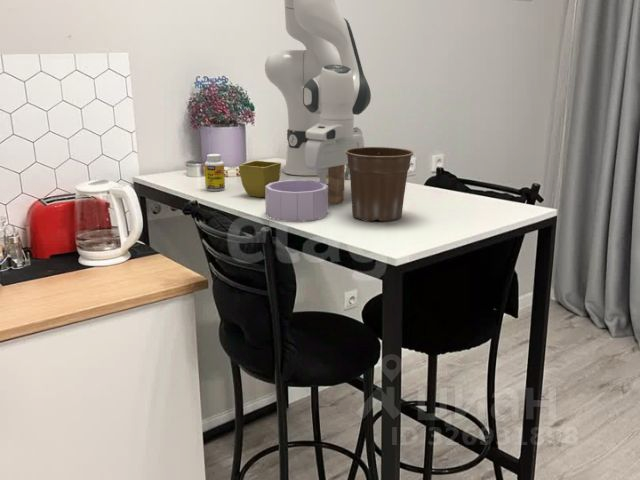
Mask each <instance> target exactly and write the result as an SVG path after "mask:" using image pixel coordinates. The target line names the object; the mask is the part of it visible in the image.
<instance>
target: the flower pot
mask: <svg viewBox="0 0 640 480" xmlns="http://www.w3.org/2000/svg"><path fill="white" fill-rule="evenodd" d="M281 165H282V163H281V162H278V161H277V162H275V161H264V160H253V161H249V162H245V163H241V164H238V170H239V176H240V180H241V185H242V187H243V189H244V190H245V192H246V194H247V195H248V196H249V197H258V198H265V186H266V185H268V184H269V183H273V182H278V181H280V176H281Z"/></svg>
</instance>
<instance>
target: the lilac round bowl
mask: <svg viewBox="0 0 640 480" xmlns="http://www.w3.org/2000/svg"><path fill="white" fill-rule="evenodd" d="M264 198H265V200H264V201H265V215H266V214H267V215H268V216H269V217H271V218H270V219H272V218H275V219H274V220H276V219H279V220H278V221H280V220H286V221H285V222H294V221H300V222H304V221H303V220H313V221H315V219H317V220H319V218H320V219H323V218H324V219H325V217H326V216H327V215H329V203H328V186H327V185H326V184H324V183H321V182H320V181H316V180H315V181H314V180H305V179H304V180H300V179H290V180H287V179H286V180H279V181H278V182H273V183H269V184H268V185H266V186H265V197H264ZM267 215H266V216H267ZM268 216H267V217H268ZM269 217H268V218H269Z"/></svg>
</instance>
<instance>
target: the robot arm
mask: <svg viewBox="0 0 640 480" xmlns="http://www.w3.org/2000/svg"><path fill="white" fill-rule="evenodd" d="M284 15H285V16H284V17H285V18H284V21H285V30H286V32H287V34H288V35H289V36H290V37H291V38H292V39H294V40H296V41H298V42H299V43H301V44H303V46H304V47H305V50H304V49H299V50H298V49H283V50H278V51H274V52H271V53H270V54H269V55H268V56H267V58H266V60H265V63H264V73H265V76H266V78H267V79H268V81H269V82H270V83H271V84H272V85H274V86H275V87H276V88H277V89H278V90H279V92H281V94H282V96H283V98H284V100H285V103H286V108H287V119H288V129H287V130H286V131H287V132H286V139H287V143H288V144H287V147H286V148H287V149H286V157H285V158H286V159H285V165H284V167H283V168H284V170H283V173H284V174H287V175H293V176H318V178H319V182H321V183H324V184H326V185H328V178H326V176H325V173H324V172H326V168H330V167H335V166H340V165H345V173H344V180H345V181H350V169H349V168H348V158H347V154H346V152H345V151H346V150H347V149H351V148H360V147H365V142H364V141H365V140H364V137H363V131H362V130H361V128H359V126H355V125H354V124H355V121H354V120H355V119H354V115H357V116H358V115H360V114H362V113H363V112H365V111H366V109H367V108H368V106H369V105H370V103H371V100H372V99H371V98H372V95H371V88H370V86H369V82H368V81H367V80H368V79H366V76H365V74H364V71H363V66H362V63H361V59H360V56H359V55H360V54H359V52H358V48H357V44H356V40H355V38H354V34H353V31H352V28H351V26H350V22H349V21H348V19H346V18H345V17H343V15H342V14H341V13H340V10H339V9H338V7H337V4H336V2H335V0H284ZM331 44H332V45H333V46H332V45H331ZM334 47H335V48H334Z"/></svg>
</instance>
